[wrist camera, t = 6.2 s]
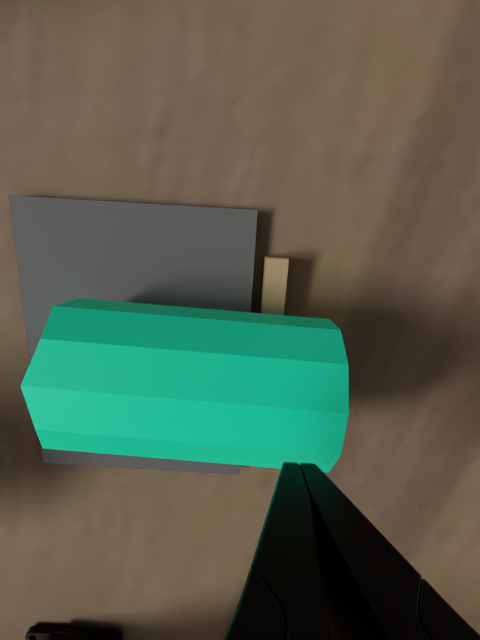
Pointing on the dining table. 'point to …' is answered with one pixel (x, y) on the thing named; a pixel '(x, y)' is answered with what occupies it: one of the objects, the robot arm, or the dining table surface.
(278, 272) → the strip
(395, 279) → the dining table surface
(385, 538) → the robot arm
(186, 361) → the candle
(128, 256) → the mat
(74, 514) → the dining table surface
